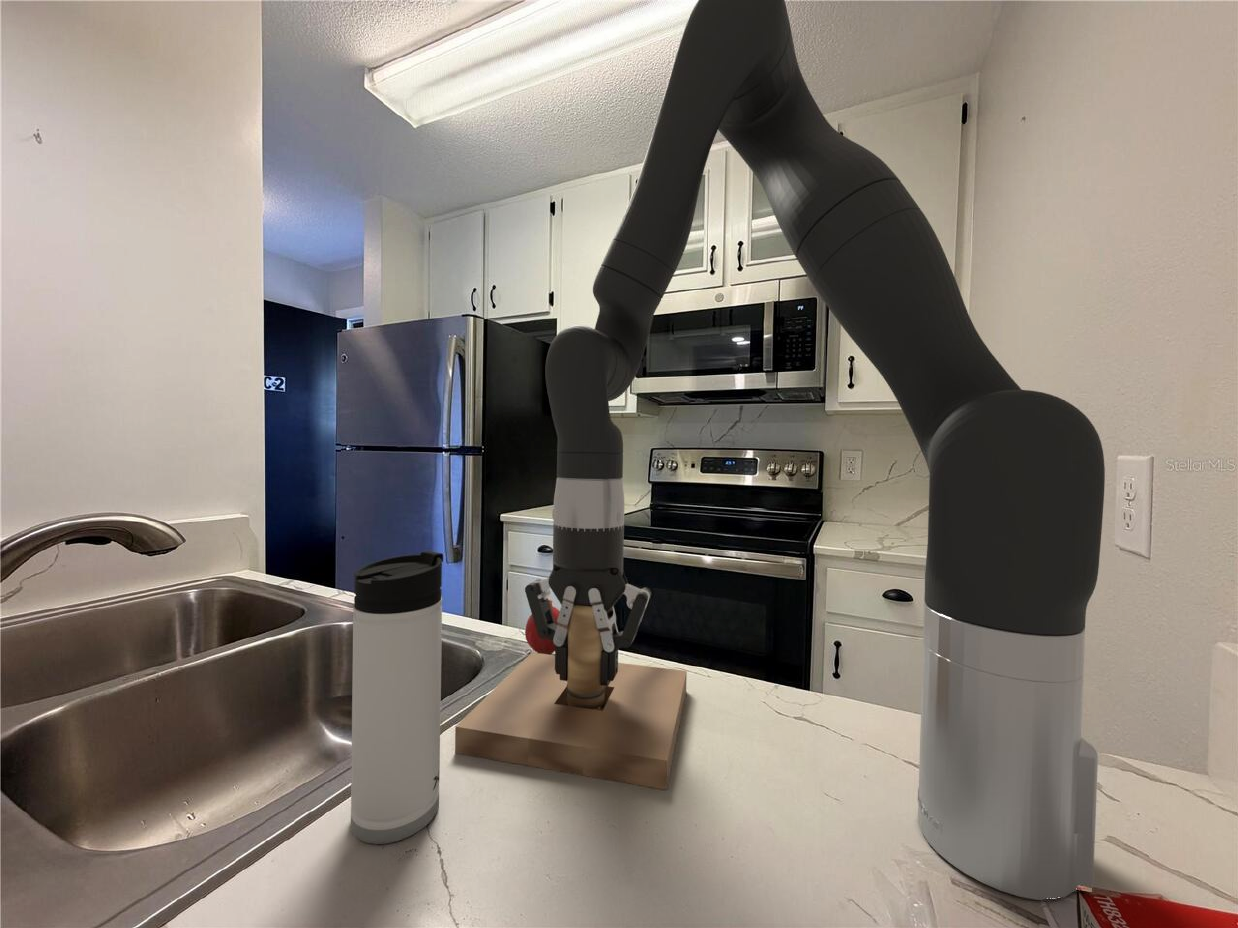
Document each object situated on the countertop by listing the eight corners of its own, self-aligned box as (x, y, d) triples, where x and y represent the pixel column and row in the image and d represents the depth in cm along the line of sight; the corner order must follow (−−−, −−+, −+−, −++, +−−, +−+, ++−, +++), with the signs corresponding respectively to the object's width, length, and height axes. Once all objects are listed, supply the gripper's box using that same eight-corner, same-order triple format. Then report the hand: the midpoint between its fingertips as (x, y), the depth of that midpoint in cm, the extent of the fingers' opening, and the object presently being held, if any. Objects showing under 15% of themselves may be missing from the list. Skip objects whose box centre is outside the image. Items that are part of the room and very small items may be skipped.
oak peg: (609, 707, 54) (611, 599, 54) (599, 727, 50) (601, 610, 50) (573, 702, 55) (575, 596, 55) (560, 721, 51) (562, 607, 51)
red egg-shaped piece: (558, 667, 65) (559, 607, 65) (518, 662, 66) (519, 604, 66) (571, 650, 71) (572, 595, 71) (534, 646, 72) (535, 592, 72)
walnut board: (686, 691, 59) (686, 670, 59) (666, 789, 42) (667, 760, 41) (531, 671, 64) (531, 652, 64) (455, 752, 46) (455, 726, 46)
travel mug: (459, 804, 39) (463, 556, 39) (381, 860, 34) (385, 572, 33) (411, 775, 43) (414, 547, 42) (333, 822, 37) (336, 559, 37)
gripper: (660, 519, 54) (656, 673, 55) (539, 513, 57) (537, 658, 58) (648, 528, 47) (645, 706, 47) (511, 521, 50) (509, 687, 50)
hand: (585, 679), depth 52 cm, fingers closed on oak peg, 4 cm apart
